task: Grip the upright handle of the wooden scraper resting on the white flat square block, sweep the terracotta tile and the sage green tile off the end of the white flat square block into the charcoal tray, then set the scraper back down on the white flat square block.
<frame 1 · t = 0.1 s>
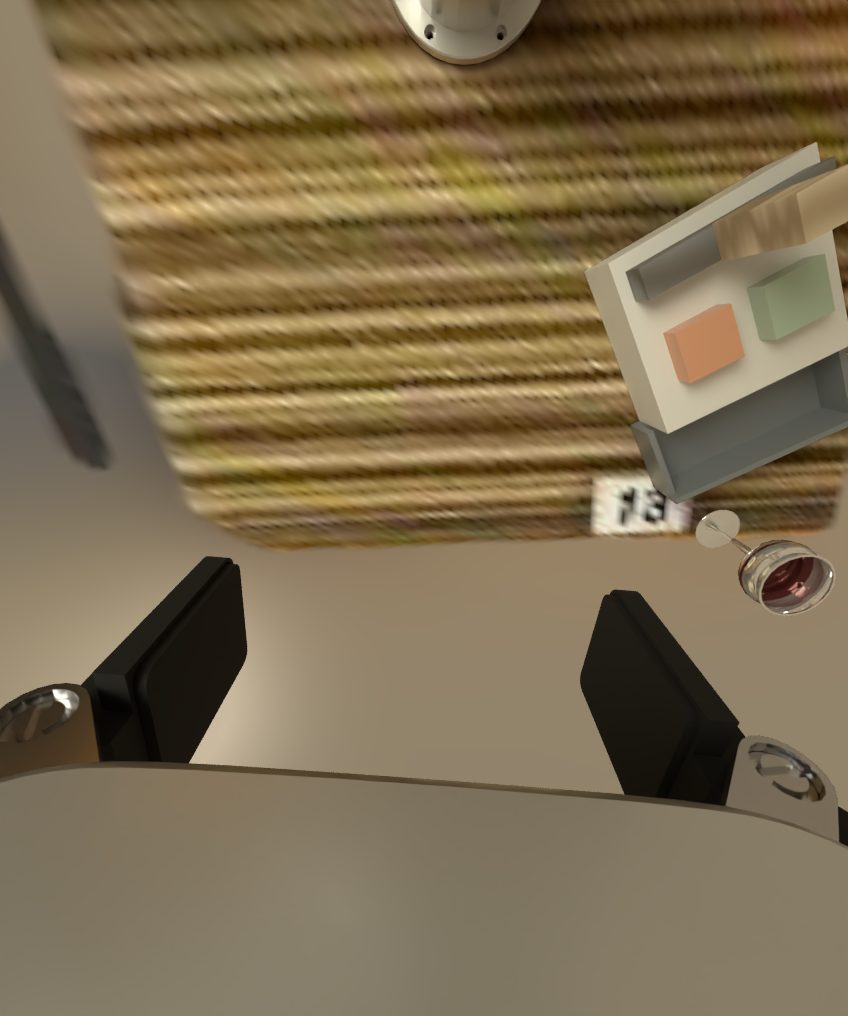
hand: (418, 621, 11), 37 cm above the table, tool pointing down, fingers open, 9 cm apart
wineglass: (716, 528, 51), on the table
scraper: (716, 238, 34), point 6 cm above the table, touching white flat square block
terracotta tile: (696, 343, 37), point 6 cm above the table, touching white flat square block
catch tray: (725, 417, 46), on the table
green tile: (780, 299, 36), point 6 cm above the table, touching white flat square block
white flat square block: (693, 307, 42), on the table
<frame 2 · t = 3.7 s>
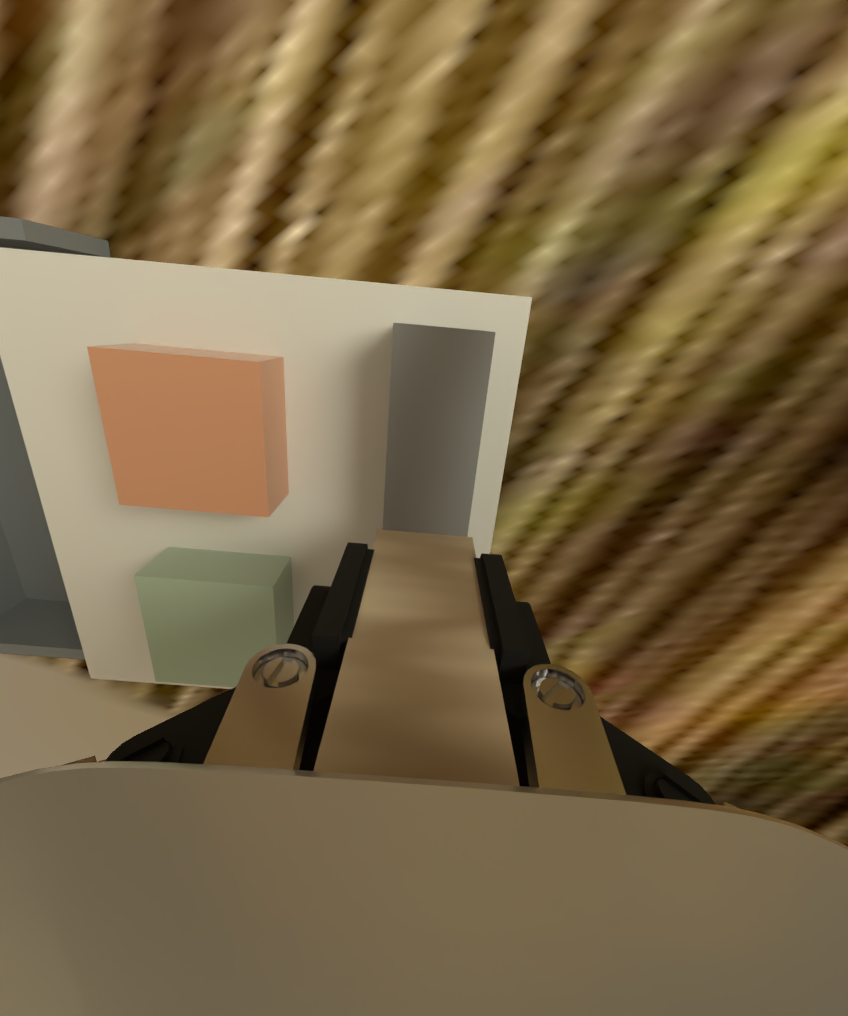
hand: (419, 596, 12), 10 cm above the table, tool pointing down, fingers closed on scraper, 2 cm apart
scraper: (422, 537, 16), point 6 cm above the table, touching white flat square block, gripper
terracotta tile: (216, 423, 14), point 6 cm above the table, touching white flat square block
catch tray: (61, 450, 21), on the table
green tile: (235, 602, 17), point 6 cm above the table, touching white flat square block
white flat square block: (311, 471, 21), on the table
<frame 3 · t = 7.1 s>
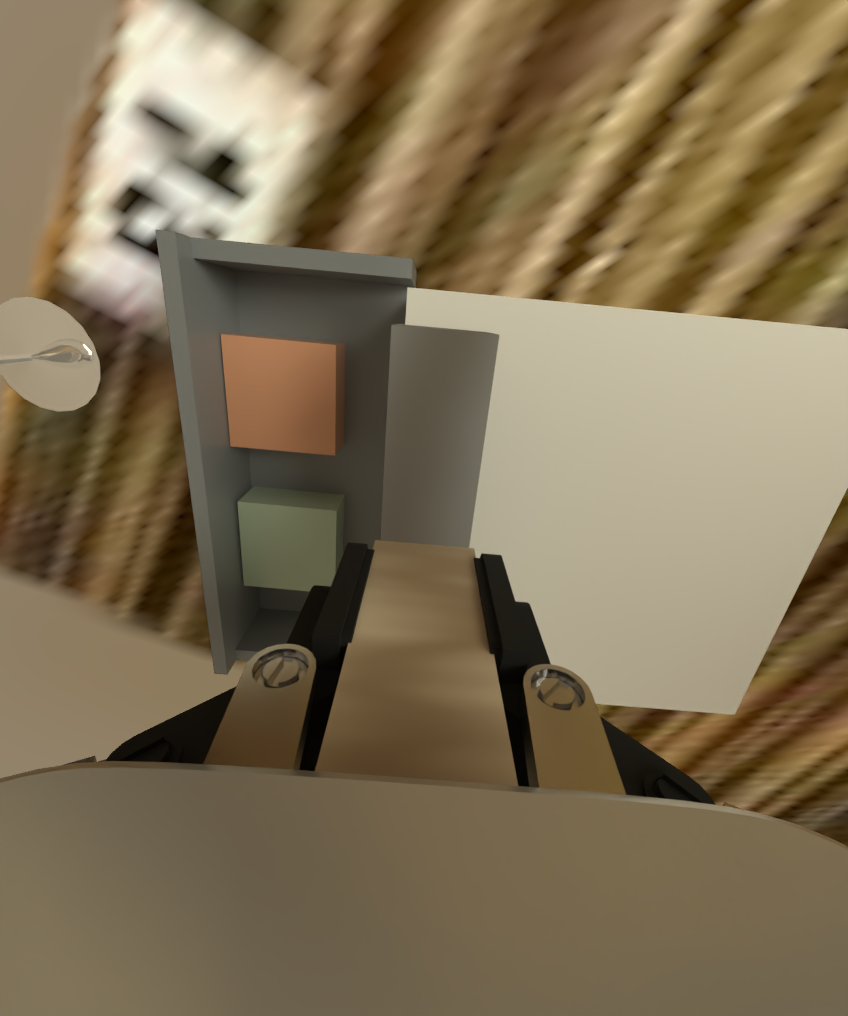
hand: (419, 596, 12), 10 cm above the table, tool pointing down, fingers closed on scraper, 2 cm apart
wineglass: (48, 356, 20), on the table
scraper: (422, 545, 15), point 7 cm above the table, touching gripper
terracotta tile: (280, 398, 18), point 3 cm above the table, tilted 180°, touching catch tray
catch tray: (322, 467, 22), on the table
green tile: (288, 549, 21), point 3 cm above the table, tilted 180°, touching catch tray
white flat square block: (560, 488, 22), on the table
when the fingers open (10 cm above the table, at t = 9.6 s): scraper stays where it is, resting on white flat square block.
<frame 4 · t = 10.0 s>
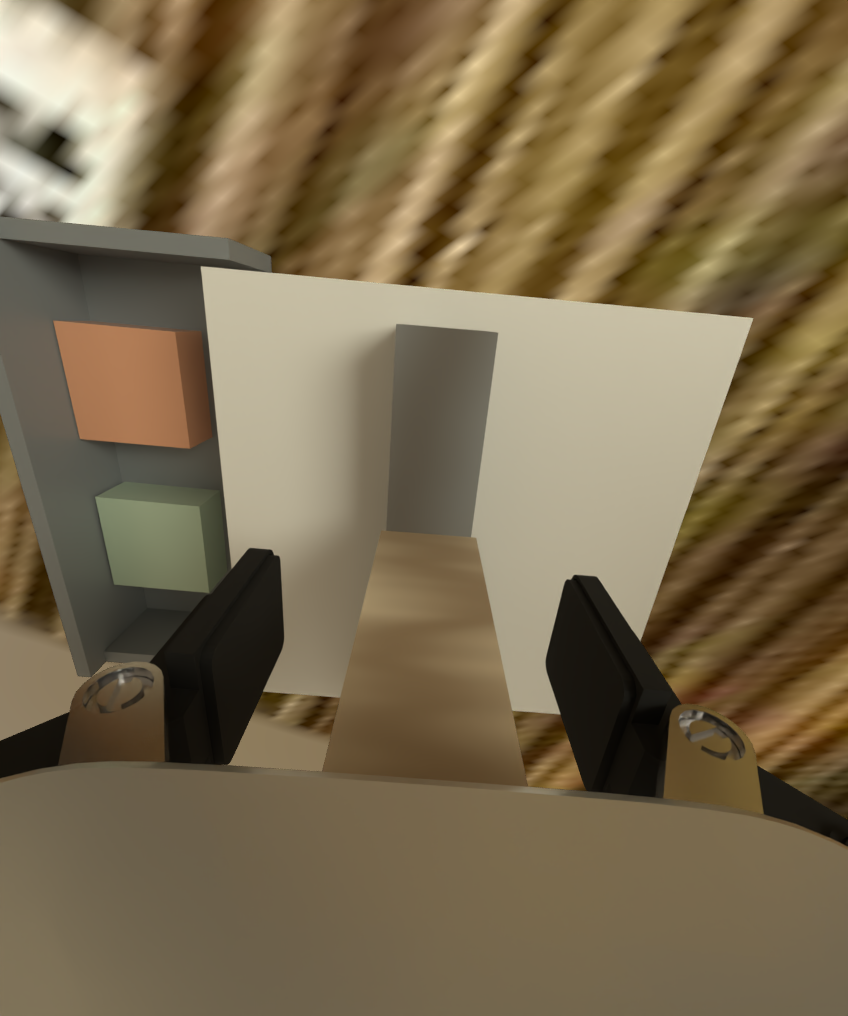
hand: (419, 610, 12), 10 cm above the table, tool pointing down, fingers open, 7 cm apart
scraper: (425, 537, 16), point 6 cm above the table, touching white flat square block
terracotta tile: (125, 388, 17), point 3 cm above the table, tilted 180°, touching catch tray
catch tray: (197, 461, 21), on the table
green tile: (154, 547, 20), point 3 cm above the table, tilted 180°, touching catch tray
white flat square block: (445, 483, 21), on the table
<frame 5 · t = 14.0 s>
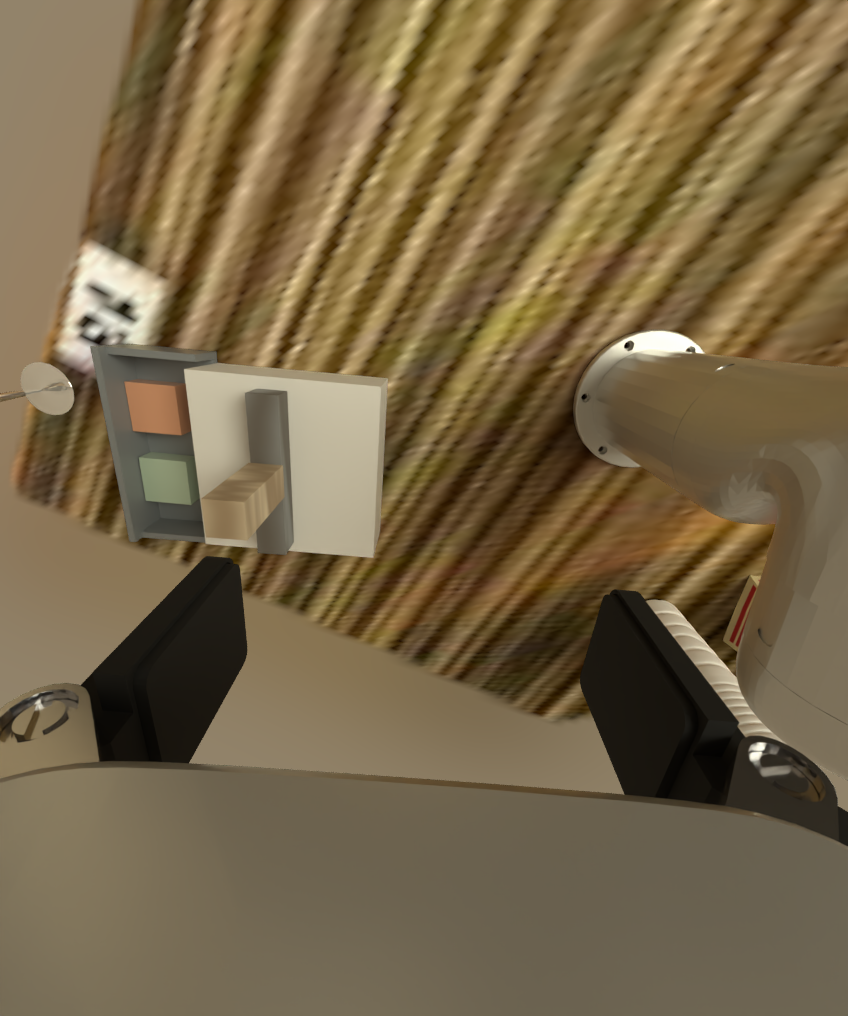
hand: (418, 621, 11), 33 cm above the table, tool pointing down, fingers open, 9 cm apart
wineglass: (49, 388, 42), on the table
scraper: (276, 470, 38), point 6 cm above the table, touching white flat square block
water bottle: (643, 627, 52), on the table
milk carton: (772, 608, 51), on the table
terracotta tile: (153, 409, 40), point 3 cm above the table, tilted 180°, touching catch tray
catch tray: (185, 442, 44), on the table
green tile: (165, 481, 43), point 3 cm above the table, tilted 180°, touching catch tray
white flat square block: (304, 452, 44), on the table
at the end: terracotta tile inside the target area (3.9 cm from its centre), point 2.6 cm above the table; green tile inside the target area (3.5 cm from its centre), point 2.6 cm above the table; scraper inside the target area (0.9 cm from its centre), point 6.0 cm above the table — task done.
